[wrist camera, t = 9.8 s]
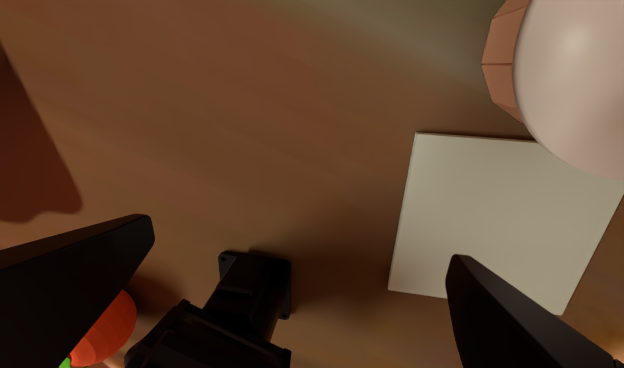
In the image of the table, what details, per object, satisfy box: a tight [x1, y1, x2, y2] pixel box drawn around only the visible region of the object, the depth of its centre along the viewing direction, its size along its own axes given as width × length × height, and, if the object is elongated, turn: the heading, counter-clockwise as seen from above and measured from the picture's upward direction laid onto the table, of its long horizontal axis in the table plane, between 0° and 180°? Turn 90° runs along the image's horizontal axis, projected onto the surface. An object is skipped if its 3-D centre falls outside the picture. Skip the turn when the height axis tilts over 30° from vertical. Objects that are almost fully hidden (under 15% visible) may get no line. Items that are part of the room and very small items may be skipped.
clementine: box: [59, 289, 137, 368], centre depth 27 cm, size 8×7×7 cm
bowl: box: [481, 0, 530, 124], centre depth 13 cm, size 9×9×6 cm
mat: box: [388, 132, 624, 315], centre depth 21 cm, size 13×13×1 cm
